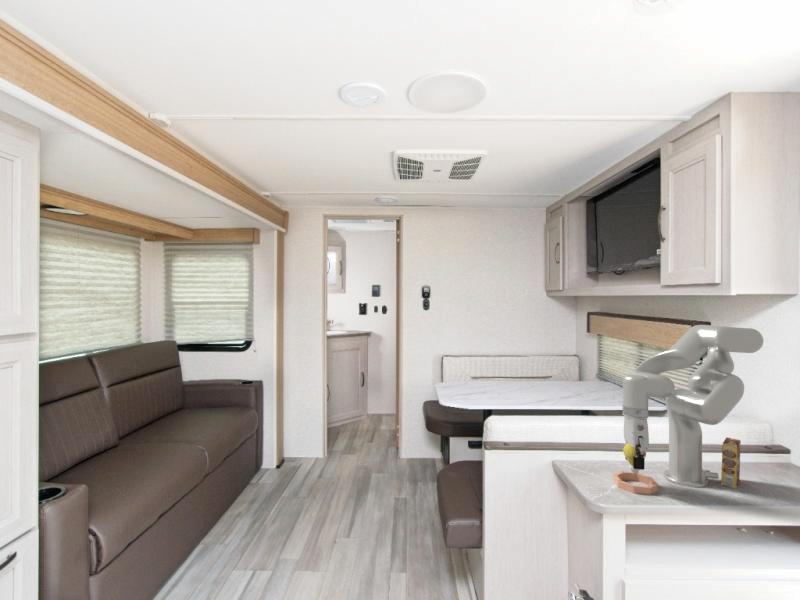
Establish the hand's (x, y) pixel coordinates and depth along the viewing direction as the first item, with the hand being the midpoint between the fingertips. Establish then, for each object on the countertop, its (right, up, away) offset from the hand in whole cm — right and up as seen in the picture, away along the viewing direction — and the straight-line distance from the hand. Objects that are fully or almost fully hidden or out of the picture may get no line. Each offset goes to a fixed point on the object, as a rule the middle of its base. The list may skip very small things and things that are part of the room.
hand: (634, 464), depth 136 cm
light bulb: (0, -3, 0) cm, 3 cm away
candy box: (+34, -8, +2) cm, 36 cm away
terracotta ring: (0, -8, 0) cm, 8 cm away
